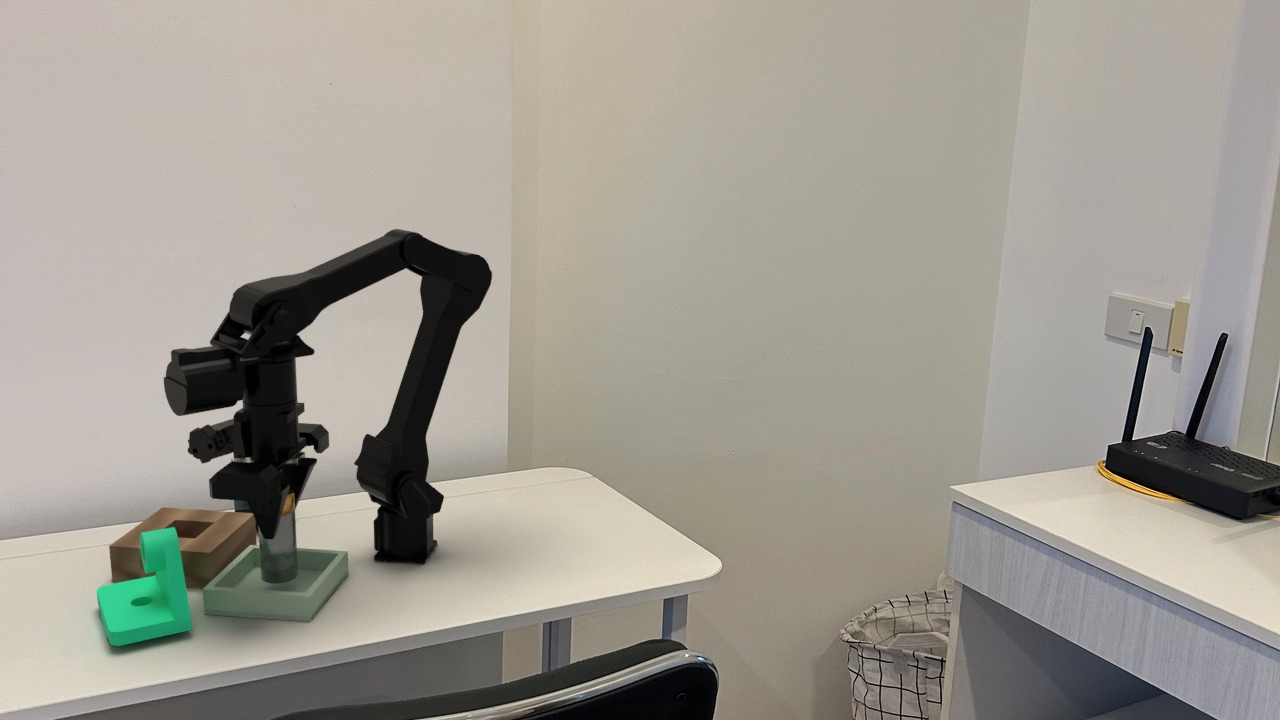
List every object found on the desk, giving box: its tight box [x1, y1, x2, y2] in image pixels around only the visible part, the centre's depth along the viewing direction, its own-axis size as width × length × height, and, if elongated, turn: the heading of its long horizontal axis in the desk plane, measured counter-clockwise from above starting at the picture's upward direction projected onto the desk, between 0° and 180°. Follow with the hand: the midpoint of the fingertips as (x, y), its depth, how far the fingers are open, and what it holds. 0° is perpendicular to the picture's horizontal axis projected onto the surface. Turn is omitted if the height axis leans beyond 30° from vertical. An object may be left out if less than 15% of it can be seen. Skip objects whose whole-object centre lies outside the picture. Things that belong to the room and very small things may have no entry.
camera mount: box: [96, 527, 192, 647], centre depth 113 cm, size 12×8×10 cm, turn 33°
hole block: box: [108, 507, 258, 589], centre depth 128 cm, size 12×12×4 cm
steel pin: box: [258, 489, 298, 584], centre depth 120 cm, size 4×4×10 cm
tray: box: [202, 544, 349, 623], centre depth 121 cm, size 12×12×3 cm
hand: (277, 530), depth 120 cm, fingers closed on steel pin, 4 cm apart
